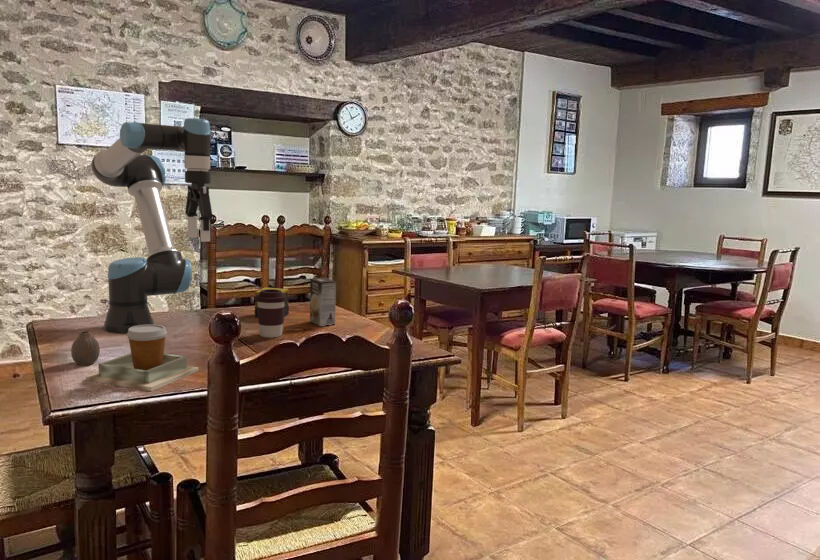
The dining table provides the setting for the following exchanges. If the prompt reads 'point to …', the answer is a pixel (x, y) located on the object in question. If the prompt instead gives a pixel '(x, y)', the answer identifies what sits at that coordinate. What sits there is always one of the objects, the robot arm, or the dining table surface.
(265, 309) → the coffee cup
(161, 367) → the tray
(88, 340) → the vase
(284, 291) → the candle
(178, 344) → the dining table surface
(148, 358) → the disposable coffee cup
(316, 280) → the coffee box
